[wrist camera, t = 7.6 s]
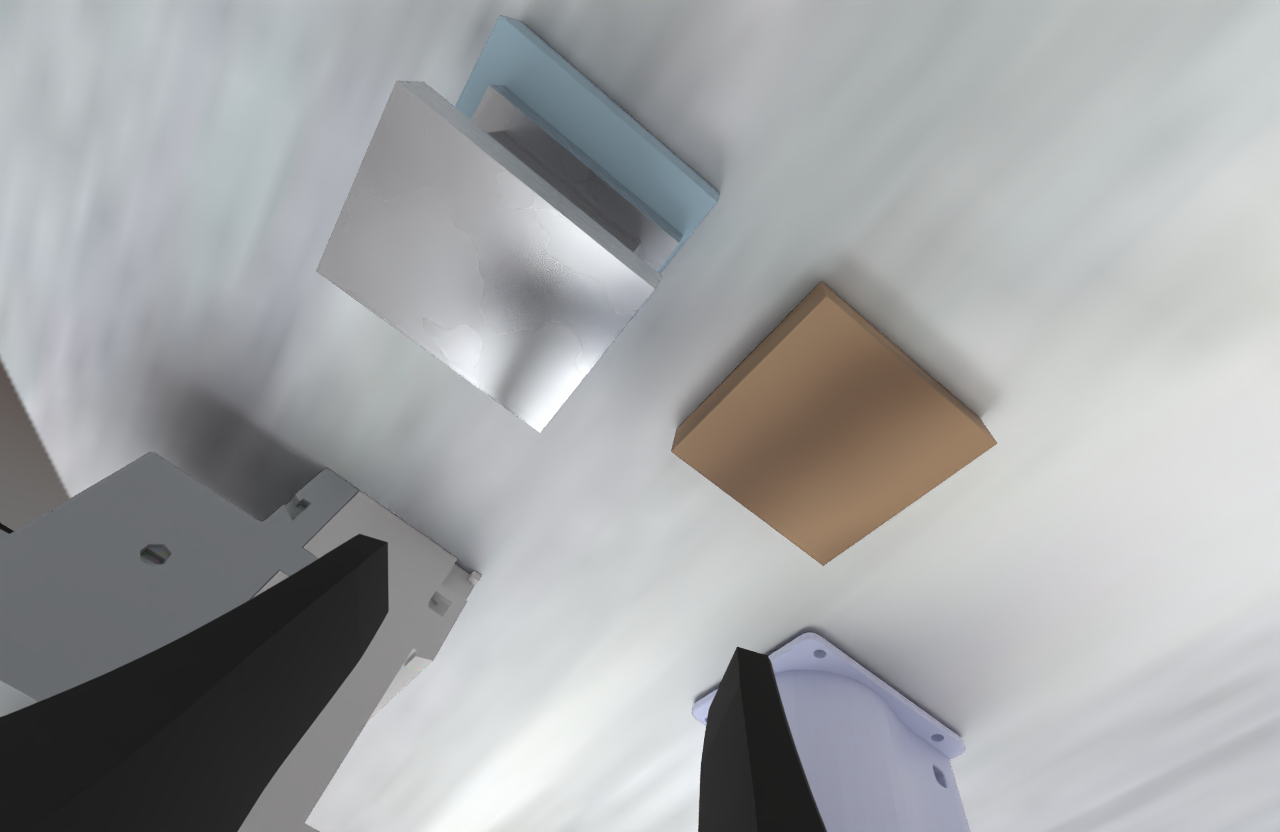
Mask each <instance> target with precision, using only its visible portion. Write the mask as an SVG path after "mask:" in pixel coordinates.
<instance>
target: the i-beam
mask: <svg viewBox="0 0 1280 832" xmlns="http://www.w3.org/2000/svg"><path fill="white" fill-rule="evenodd" d="M682 237H683V235H682V234H681V233H680V232H679V231H678V230H676V229H675V228H674V227H673V226H672V225H670V224H669V223H668V222H667V221H666V220H664V219H663V218H662V217H661V216H660V215H659V214H657V213H656V212H655V211H654V210H653V209H651V208H650V207H649V206H648V205H647V204H645V203H644V202H643V201H642V200H641V199H639V198H638V197H637V196H636V195H635V194H633V193H632V192H631V191H630V190H629V189H627V188H626V187H625V186H624V185H623V184H621V183H620V182H619V181H618V180H617V179H616V178H614V177H613V176H612V175H611V174H610V173H608V172H607V171H606V170H605V169H604V168H602V167H601V166H600V165H599V164H598V163H596V162H595V161H594V160H593V159H592V158H590V157H589V156H588V155H587V154H586V153H584V152H583V151H582V150H581V149H580V148H579V147H577V146H576V145H575V144H574V143H573V142H571V141H570V140H569V139H568V138H567V137H565V136H564V135H563V134H562V133H561V132H559V131H558V130H557V129H556V128H555V127H553V126H552V125H551V124H550V123H549V122H547V121H546V120H545V119H544V118H543V117H541V116H540V115H539V114H538V113H537V112H536V111H534V110H533V109H532V108H531V107H530V106H528V105H527V104H526V103H525V102H524V101H522V100H521V99H520V98H519V97H518V96H516V95H515V94H514V93H513V92H512V91H510V90H509V89H508V88H507V87H506V86H504V85H489V86H488V88H487V90H486V92H485V94H484V96H483V98H482V100H481V101H480V103H479V105H478V107H477V109H476V111H475V113H474V115H473V117H472V119H471V120H470V119H469V118H468V117H467V116H465V115H464V114H463V113H462V112H460V111H459V110H458V109H457V108H455V107H454V106H453V105H452V104H451V103H449V102H448V101H447V100H446V99H444V98H443V97H442V96H441V95H440V94H438V93H437V92H436V91H435V90H433V89H432V88H431V87H430V86H428V85H427V84H426V83H425V82H415V81H396V84H395V86H394V88H393V91H392V93H391V95H390V98H389V100H388V102H387V105H386V107H385V110H384V112H383V114H382V117H381V119H380V121H379V124H378V126H377V128H376V131H375V133H374V136H373V138H372V140H371V143H370V145H369V147H368V150H367V152H366V154H365V157H364V159H363V161H362V164H361V166H360V169H359V171H358V173H357V176H356V178H355V180H354V183H353V185H352V187H351V190H350V192H349V195H348V197H347V199H346V202H345V204H344V206H343V209H342V211H341V213H340V216H339V218H338V220H337V223H336V225H335V228H334V230H333V232H332V235H331V237H330V239H329V242H328V244H327V246H326V249H325V251H324V254H323V256H322V258H321V261H320V263H319V265H318V268H317V270H316V271H317V272H318V273H319V274H321V275H322V276H324V277H325V278H326V279H328V280H329V281H331V282H332V283H333V284H335V285H336V286H337V287H339V288H340V289H342V290H343V291H344V292H346V293H347V294H349V295H350V296H351V297H353V298H354V299H355V300H357V301H358V302H360V303H361V304H362V305H364V306H365V307H367V308H368V309H369V310H371V311H372V312H373V313H375V314H376V315H378V316H379V317H380V318H382V319H383V320H385V321H386V322H387V323H389V324H390V325H391V326H393V327H394V328H396V329H397V330H398V331H400V332H401V333H403V334H404V335H405V336H407V337H408V338H409V339H411V340H412V341H414V342H415V343H416V344H418V345H419V346H420V347H422V348H423V349H425V350H426V351H427V352H429V353H430V354H432V355H433V356H434V357H436V358H437V359H438V360H440V361H441V362H443V363H444V364H445V365H447V366H448V367H450V368H451V369H452V370H454V371H455V372H456V373H458V374H459V375H461V376H462V377H463V378H465V379H466V380H468V381H469V382H470V383H472V384H473V385H474V386H476V387H477V388H479V389H480V390H481V391H483V392H484V393H486V394H487V395H488V396H490V397H491V398H492V399H494V400H495V401H497V402H498V403H499V404H501V405H502V406H504V407H505V408H506V409H508V410H509V411H510V412H512V413H513V414H515V415H516V416H517V417H519V418H520V419H522V420H523V421H524V422H526V423H527V424H528V425H530V426H531V427H533V428H534V429H535V430H537V431H538V432H541V431H542V429H543V428H544V427H545V426H546V424H547V423H548V422H549V421H550V419H551V418H552V417H553V416H554V414H555V413H556V412H557V411H558V410H559V408H560V407H561V406H562V405H563V403H564V402H565V401H566V400H567V398H568V397H569V396H570V395H571V393H572V392H573V391H574V390H575V388H576V387H577V386H578V385H579V383H580V382H581V381H582V380H583V378H584V377H585V376H586V375H587V374H588V372H589V371H590V370H591V369H592V367H593V366H594V365H595V364H596V362H597V361H598V360H599V359H600V357H601V356H602V355H603V354H604V352H605V351H606V350H607V349H608V347H609V346H610V345H611V344H612V342H613V341H614V340H615V339H616V337H617V336H618V335H619V334H620V333H621V331H622V330H623V329H624V328H625V326H626V325H627V324H628V323H629V321H630V320H631V319H632V318H633V316H634V315H635V314H636V313H637V311H638V310H639V309H640V308H641V306H642V305H643V304H644V303H645V301H646V300H647V299H648V298H649V297H650V295H651V294H652V293H653V292H654V290H655V289H656V287H657V285H658V283H659V281H660V279H661V277H662V275H660V274H659V273H658V272H657V271H658V270H659V268H660V267H661V266H662V265H663V263H664V262H665V261H666V259H667V258H668V257H669V256H670V254H671V253H672V252H673V251H674V249H675V248H676V247H677V246H678V244H679V243H680V241H681V239H682Z"/></svg>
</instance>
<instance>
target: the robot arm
mask: <svg viewBox="0 0 1280 832" xmlns="http://www.w3.org/2000/svg"><path fill="white" fill-rule="evenodd" d="M388 612H389V594H388V542H386V541H382V540H379V539H376V538H372V537H369V536H366V535H362V534H358V535H356V536H354V537H353V538H351V539H349V540H348V541H346V542H344V543H343V544H341V545H339V546H338V547H336V548H335V549H333V550H331V551H330V552H328V553H327V554H325V555H323V556H322V557H320V558H318V559H317V560H315V561H314V562H312V563H310V564H309V565H307V566H305V567H304V568H302V569H301V570H299V571H297V572H296V573H294V574H292V575H291V576H289V577H287V578H286V579H284V580H282V581H281V582H279V583H277V584H276V585H274V586H272V587H271V588H269V589H267V590H265V591H264V592H262V593H260V594H259V595H257V596H255V597H253V598H252V599H250V600H248V601H247V602H245V603H243V604H241V605H240V606H238V607H236V608H234V609H233V610H231V611H229V612H227V613H225V614H223V615H221V616H220V617H218V618H216V619H214V620H212V621H210V622H208V623H207V624H205V625H203V626H201V627H199V628H197V629H196V630H194V631H192V632H190V633H188V634H186V635H184V636H182V637H180V638H179V639H177V640H175V641H173V642H171V643H169V644H167V645H165V646H163V647H161V648H159V649H157V650H155V651H152V652H150V653H148V654H146V655H144V656H142V657H140V658H138V659H136V660H134V661H132V662H129V663H127V664H125V665H123V666H121V667H119V668H117V669H114V670H112V671H110V672H108V673H106V674H103V675H101V676H99V677H96V678H94V679H92V680H89V681H87V682H85V683H83V684H80V685H78V686H76V687H73V688H71V689H68V690H66V691H64V692H61V693H59V694H56V695H54V696H52V697H49V698H47V699H44V700H42V701H39V702H37V703H35V704H32V705H30V706H27V707H25V708H23V709H20V710H18V711H15V712H13V713H10V714H7V715H5V716H2V717H0V832H238V830H239V829H240V827H241V825H242V824H243V822H244V821H245V819H246V817H247V816H248V814H249V813H250V811H251V809H252V808H253V806H254V805H255V803H256V802H257V800H258V798H259V797H260V795H261V794H262V792H263V791H264V789H265V788H266V786H267V785H268V783H269V782H270V781H271V779H272V778H273V776H274V775H275V773H276V772H277V771H278V769H279V768H280V766H281V765H282V764H283V762H284V761H285V760H286V758H287V757H288V756H289V754H290V753H291V752H292V750H293V749H294V748H295V746H296V745H297V744H298V742H299V741H300V740H301V738H302V737H303V736H304V734H305V733H306V732H307V730H308V729H309V728H310V726H311V725H312V724H313V722H314V721H315V720H316V718H317V717H318V716H319V715H320V713H321V712H322V711H323V709H324V708H325V707H326V705H327V704H328V703H329V701H330V700H331V699H332V697H333V696H334V695H335V693H336V692H337V691H338V689H339V688H340V687H341V685H342V684H343V682H344V681H345V680H346V678H347V677H348V676H349V674H350V673H351V672H352V670H353V669H354V668H355V666H356V665H357V664H358V662H359V661H360V659H361V658H362V656H363V655H364V653H365V651H366V650H367V648H368V646H369V645H370V643H371V641H372V640H373V638H374V636H375V635H376V633H377V631H378V629H379V628H380V626H381V624H382V622H383V621H384V619H385V617H386V615H387V614H388ZM692 715H693V717H694V718H695V719H697V720H698V721H700V722H701V723H703V724H704V725H706V731H705V738H704V745H703V753H702V761H701V775H700V800H699V826H698V832H970V829H969V825H968V822H967V818H966V815H965V811H964V808H963V805H962V801H961V798H960V794H959V791H958V787H957V784H956V781H955V777H954V774H953V770H952V767H951V763H950V760H949V759H951V758H953V757H956V756H958V755H960V754H962V753H963V752H964V751H965V745H964V741H963V739H962V738H961V737H960V736H958V735H957V734H955V733H954V732H953V731H951V730H950V729H948V728H947V727H946V726H944V725H943V724H942V723H940V722H939V721H937V720H936V719H935V718H933V717H932V716H930V715H929V714H928V713H926V712H925V711H923V710H922V709H921V708H919V707H918V706H917V705H915V704H914V703H912V702H911V701H910V700H908V699H907V698H905V697H904V696H903V695H901V694H900V693H899V692H897V691H896V690H894V689H893V688H892V687H890V686H889V685H887V684H886V683H885V682H883V681H882V680H881V679H879V678H878V677H876V676H875V675H874V674H872V673H871V672H869V671H868V670H867V669H865V668H864V667H863V666H861V665H860V664H858V663H857V662H856V661H854V660H853V659H851V658H850V657H849V656H847V655H846V654H845V653H843V652H842V651H840V650H839V649H838V648H836V647H835V646H833V645H832V644H831V643H829V642H828V641H827V640H825V639H824V638H822V637H821V636H820V635H818V634H816V633H812V632H808V633H804V634H802V635H800V636H798V637H797V638H795V639H794V640H792V641H791V642H789V643H788V644H786V645H784V646H783V647H781V648H780V649H778V650H777V651H775V652H774V653H772V654H770V655H769V656H766V655H763V654H760V653H756V652H753V651H750V650H746V649H743V648H740V647H737V648H736V650H735V652H734V655H733V657H732V659H731V661H730V663H729V666H728V668H727V670H726V672H725V674H724V677H723V679H722V681H721V683H720V685H719V688H718V689H716V690H714V691H713V692H711V693H710V694H708V695H707V696H705V697H704V698H702V699H700V700H699V701H697V702H696V703H694V704H693V707H692Z"/></svg>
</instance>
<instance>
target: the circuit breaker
mask: <svg viewBox="0 0 1280 832" xmlns="http://www.w3.org/2000/svg"><path fill="white" fill-rule="evenodd" d="M358 491H359V490H358V489H357V488H356V487H354V486H353V485H351V484H350V483H348V482H347V481H345V480H344V479H343V478H341V477H340V476H338V475H337V474H335V473H334V472H332V471H331V470H330V469H324V470H323V471H322V472H320V473H319V474H318V475H317V476H316V477H315V478H313V479H312V480H311V481H310V482H309V483H308V484H306V485H305V486H304V487H303V488H302V489H301V490H299V491H298V492H297V493H296V494H295V496H294V497H293V499H292V500H291V501H290V502H289V503H288V504H286V505H285V506H284V504H283V505H282V506H281V507H280V508H279V509H277V510H276V511H275V512H274V513H273V514H272V515H270V516H269V517H268V518H267V519H266V520H264V521H261V522H260V521H259V520H257V519H256V518H254V517H253V516H251V515H250V514H248V513H247V512H245V511H243V510H242V509H240V508H239V507H237V506H236V505H234V504H233V503H231V502H230V501H228V500H227V499H225V498H224V497H222V496H221V495H219V494H217V493H216V492H214V491H213V490H211V489H210V488H208V487H207V486H205V485H204V484H202V483H201V482H199V481H198V480H196V479H195V478H193V477H191V476H190V475H188V474H187V473H185V472H184V471H182V470H181V469H179V468H178V467H176V466H175V465H173V464H172V463H170V462H169V461H167V460H166V459H164V458H162V457H161V456H159V455H158V454H156V453H155V452H149V453H147V454H146V455H144V456H142V457H140V458H139V459H137V460H135V461H134V462H132V463H130V464H128V465H127V466H125V467H123V468H122V469H120V470H118V471H117V472H115V473H113V474H111V475H110V476H108V477H106V478H105V479H103V480H101V481H99V482H98V483H96V484H94V485H93V486H91V487H89V488H87V489H86V490H84V491H82V492H81V493H79V494H77V495H75V496H74V497H72V498H70V499H69V500H67V501H65V502H64V503H62V504H60V505H59V506H57V507H55V508H54V509H52V511H48V512H46V513H45V514H43V515H42V516H40V517H38V518H36V519H35V520H33V521H31V522H30V523H28V524H26V525H24V526H23V527H21V528H19V529H17V530H16V531H13V530H11V529H9V528H8V527H6V526H4V525H2V524H1V523H0V717H2V716H5V715H7V714H10V713H13V712H15V711H18V710H20V709H23V708H25V707H27V706H30V705H32V704H35V703H37V702H39V701H42V700H44V699H47V698H49V697H52V696H54V695H56V694H59V693H61V692H64V691H66V690H68V689H71V688H73V687H76V686H78V685H80V684H83V683H85V682H87V681H89V680H92V679H94V678H96V677H99V676H101V675H103V674H106V673H108V672H110V671H112V670H114V669H117V668H119V667H121V666H123V665H125V664H127V663H129V662H132V661H134V660H136V659H138V658H140V657H142V656H144V655H146V654H148V653H150V652H152V651H155V650H157V649H159V648H161V647H163V646H165V645H167V644H169V643H171V642H173V641H175V640H177V639H179V638H180V637H182V636H184V635H186V634H188V633H190V632H192V631H194V630H196V629H197V628H199V627H201V626H203V625H205V624H207V623H208V622H210V621H212V620H214V619H216V618H218V617H220V616H221V615H223V614H225V613H227V612H229V611H231V610H233V609H234V608H236V607H238V606H240V605H241V604H243V603H245V602H247V601H248V600H250V599H252V598H253V597H255V596H257V595H259V594H260V593H262V592H264V591H265V590H267V589H269V588H271V587H272V586H274V585H276V584H277V583H279V582H281V581H282V580H284V579H286V578H287V577H289V576H291V575H292V574H294V573H296V572H297V571H299V570H301V569H302V568H304V567H305V566H307V565H309V564H310V563H312V562H314V561H315V560H317V559H318V558H320V557H322V556H323V555H325V554H327V553H328V552H330V551H331V550H333V549H335V548H336V547H338V546H339V545H341V544H343V543H344V542H346V541H348V540H349V539H351V538H353V537H354V536H356V535H358V534H362V535H366V536H369V537H372V538H376V539H379V540H382V541H386V542H388V594H389V612H388V614H387V615H386V617H385V619H384V621H383V622H382V624H381V626H380V628H379V629H378V631H377V633H376V635H375V636H374V638H373V640H372V641H371V643H370V645H369V646H368V648H367V650H366V651H365V653H364V655H363V656H362V658H361V659H360V661H359V662H358V664H357V665H356V666H355V668H354V669H353V670H352V672H351V673H350V674H349V676H348V677H347V678H346V680H345V681H344V682H343V684H342V685H341V687H340V688H339V689H338V691H337V692H336V693H335V695H334V696H333V697H332V699H331V700H330V701H329V703H328V704H327V705H326V707H325V708H324V709H323V711H322V712H321V713H320V715H319V716H318V717H317V718H316V720H315V721H314V722H313V724H312V725H311V726H310V728H309V729H308V730H307V732H306V733H305V734H304V736H303V737H302V738H301V740H300V741H299V742H298V744H297V745H296V746H295V748H294V749H293V750H292V752H291V753H290V754H289V756H288V757H287V758H286V760H285V761H284V762H283V764H282V765H281V766H280V768H279V769H278V771H277V772H276V773H275V775H274V776H273V778H272V779H271V781H270V782H269V783H268V785H267V786H266V788H265V789H264V791H263V792H262V794H261V795H260V797H259V798H258V800H257V802H256V803H255V805H254V806H253V808H252V809H251V811H250V813H249V814H248V816H247V817H246V819H245V821H244V822H243V824H242V825H241V827H240V829H239V830H238V832H319V831H317V830H316V829H314V828H312V827H310V826H309V825H307V824H305V821H306V819H307V818H308V816H309V815H310V813H311V811H312V810H313V808H314V807H315V805H316V803H317V802H318V800H319V799H320V797H321V795H322V794H323V792H324V791H325V789H326V787H327V786H328V784H329V782H330V781H331V779H332V778H333V776H334V774H335V773H336V771H337V770H338V768H339V766H340V765H341V763H342V762H343V760H344V758H345V757H346V755H347V754H348V752H349V750H350V749H351V747H352V746H353V744H354V742H355V741H356V739H357V737H358V736H359V734H360V733H361V731H362V729H363V728H364V726H365V725H366V723H367V721H369V720H370V719H371V718H372V717H373V716H374V715H375V714H376V713H377V712H378V711H379V710H380V709H382V708H383V707H384V706H385V705H386V704H387V703H388V702H389V701H390V700H391V699H392V698H393V697H395V696H396V695H397V694H398V693H399V692H400V691H401V690H402V689H403V688H404V687H405V686H406V685H407V684H409V683H410V682H411V681H412V680H413V679H414V678H415V677H416V676H417V675H418V674H419V673H420V672H422V671H423V670H424V669H425V668H426V667H427V666H428V665H429V664H430V663H431V662H432V661H433V660H434V658H435V657H436V655H437V653H438V651H439V650H440V648H441V646H442V644H443V643H444V641H445V639H446V637H447V636H448V634H449V632H450V630H451V629H452V627H453V625H454V623H455V622H456V620H457V618H458V616H459V615H460V613H461V611H462V609H463V608H464V606H465V604H466V602H467V601H466V599H467V597H468V596H469V594H470V592H471V591H472V589H473V587H474V586H475V585H476V584H477V583H478V582H479V580H480V578H481V576H482V575H480V574H479V573H477V572H476V571H473V572H472V573H471V574H469V573H467V572H466V571H464V570H463V569H461V568H460V567H458V566H457V565H456V564H455V562H456V561H457V558H456V557H454V556H453V555H451V554H450V553H449V552H447V551H446V550H444V549H443V548H441V547H440V546H439V545H437V544H436V543H434V542H433V541H431V540H430V539H429V538H427V537H426V536H424V535H423V534H421V533H420V532H419V531H417V530H416V529H414V528H413V527H411V526H410V525H409V524H407V523H406V522H404V521H403V520H401V519H400V518H399V517H397V516H396V515H394V514H393V513H391V512H390V511H389V510H387V509H386V508H384V507H383V506H381V505H380V504H379V503H377V502H376V501H374V500H373V499H371V498H370V497H368V496H367V495H366V494H364V493H363V492H361V491H359V492H358Z"/></svg>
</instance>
